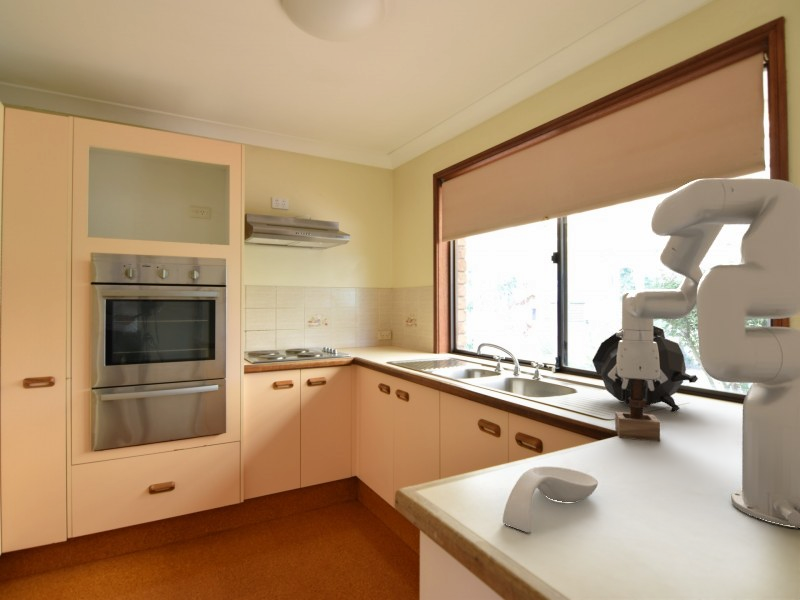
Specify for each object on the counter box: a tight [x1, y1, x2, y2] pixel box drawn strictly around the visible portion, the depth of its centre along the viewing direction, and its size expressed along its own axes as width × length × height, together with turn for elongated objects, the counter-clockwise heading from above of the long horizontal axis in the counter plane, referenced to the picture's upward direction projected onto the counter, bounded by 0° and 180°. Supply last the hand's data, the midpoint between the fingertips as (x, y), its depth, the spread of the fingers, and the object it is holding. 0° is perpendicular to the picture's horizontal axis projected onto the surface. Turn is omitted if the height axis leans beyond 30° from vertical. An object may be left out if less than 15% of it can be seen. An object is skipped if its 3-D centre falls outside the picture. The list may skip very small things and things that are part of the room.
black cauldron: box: [592, 325, 699, 412], centre depth 153 cm, size 28×28×24 cm
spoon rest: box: [502, 466, 599, 533], centre depth 78 cm, size 24×12×7 cm, turn 138°
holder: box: [614, 411, 661, 443], centre depth 121 cm, size 8×10×5 cm
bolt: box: [626, 366, 648, 419], centre depth 121 cm, size 6×5×15 cm
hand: (636, 403), depth 121 cm, fingers closed on bolt, 4 cm apart
